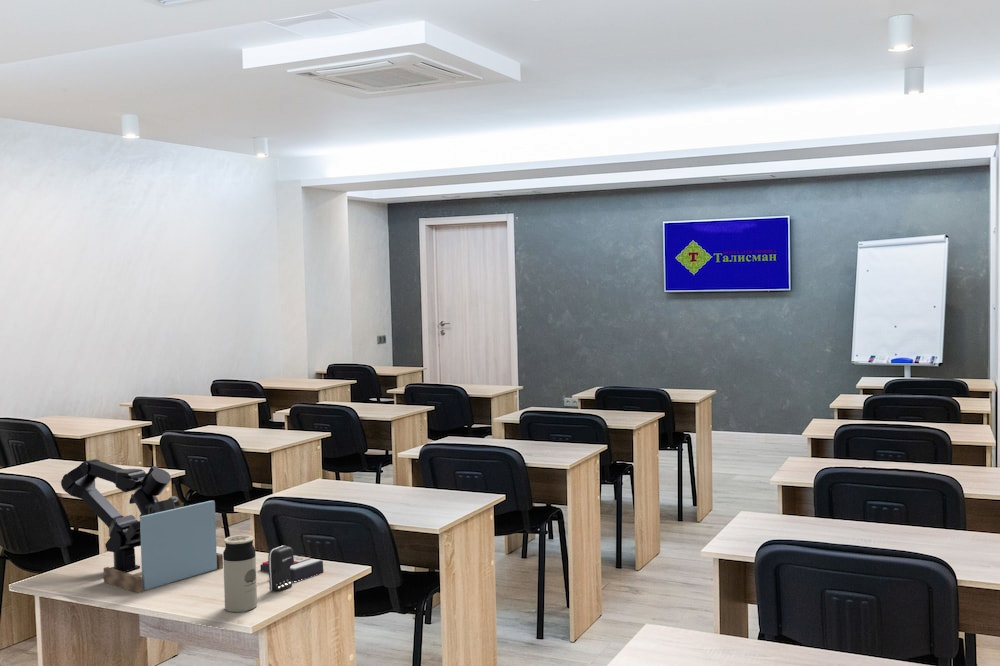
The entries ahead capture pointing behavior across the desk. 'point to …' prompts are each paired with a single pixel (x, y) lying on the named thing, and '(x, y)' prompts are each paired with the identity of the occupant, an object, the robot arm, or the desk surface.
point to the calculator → (301, 568)
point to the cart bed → (139, 577)
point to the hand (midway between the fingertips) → (172, 549)
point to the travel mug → (240, 573)
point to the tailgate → (178, 544)
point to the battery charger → (280, 568)
